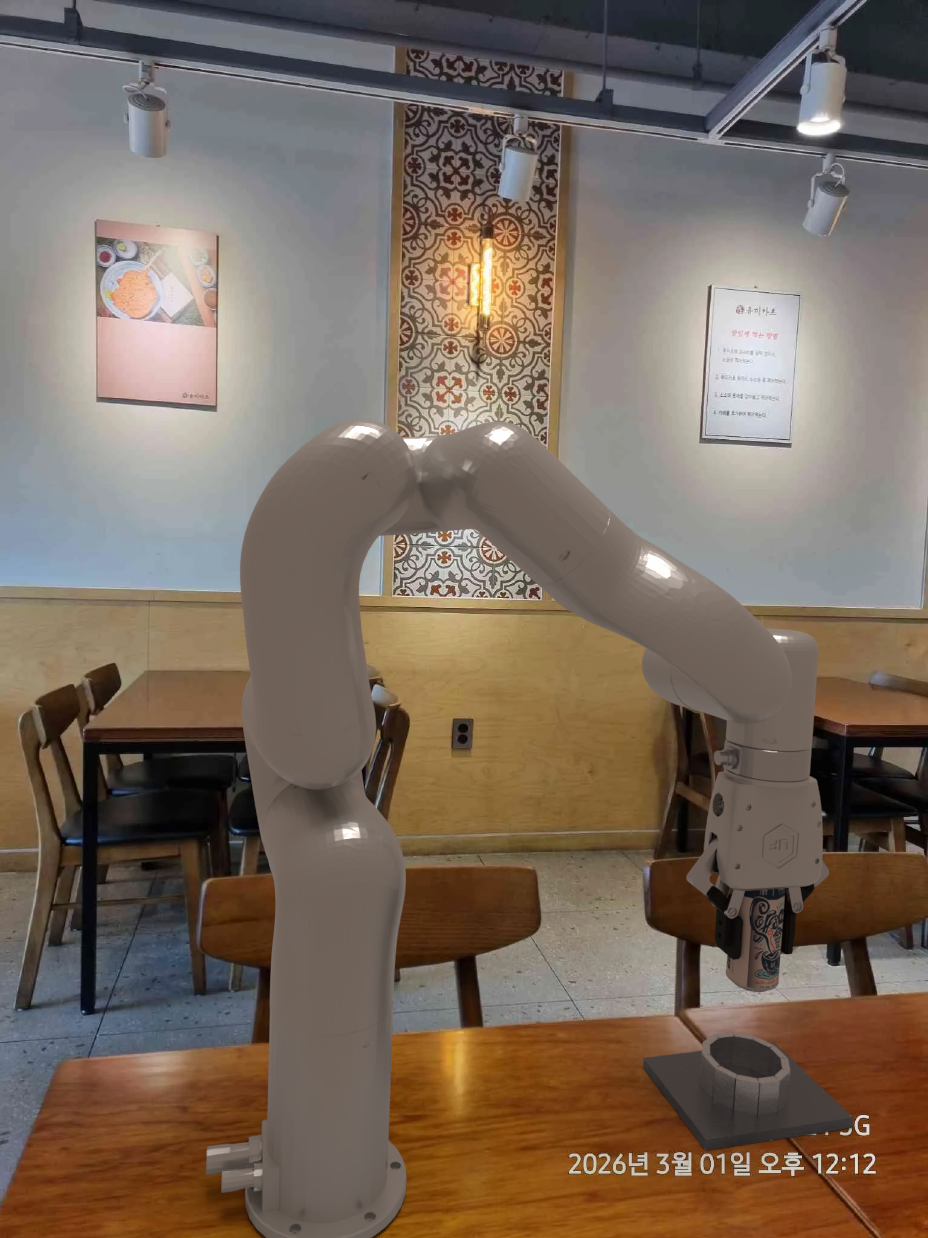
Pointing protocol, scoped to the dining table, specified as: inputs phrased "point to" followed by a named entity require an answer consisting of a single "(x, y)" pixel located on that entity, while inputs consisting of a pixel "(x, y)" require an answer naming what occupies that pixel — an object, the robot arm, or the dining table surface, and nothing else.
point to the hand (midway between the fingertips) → (753, 948)
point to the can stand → (744, 1093)
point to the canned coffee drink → (759, 941)
